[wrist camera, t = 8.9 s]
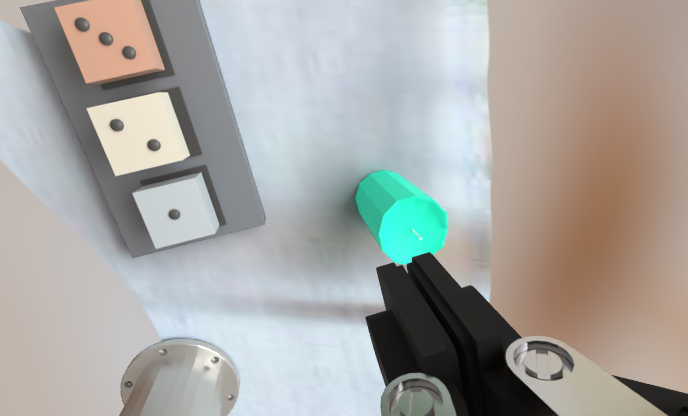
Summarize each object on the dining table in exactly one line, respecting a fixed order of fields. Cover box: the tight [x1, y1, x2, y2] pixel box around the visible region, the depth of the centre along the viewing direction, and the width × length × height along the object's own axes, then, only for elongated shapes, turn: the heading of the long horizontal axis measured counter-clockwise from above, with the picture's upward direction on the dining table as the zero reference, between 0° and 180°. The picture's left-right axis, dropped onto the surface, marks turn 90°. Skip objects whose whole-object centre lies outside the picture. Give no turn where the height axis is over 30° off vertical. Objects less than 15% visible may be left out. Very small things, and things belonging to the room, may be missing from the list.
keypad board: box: [20, 0, 266, 258], centre depth 33 cm, size 22×13×2 cm, turn 12°
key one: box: [132, 172, 219, 249], centre depth 33 cm, size 5×5×3 cm
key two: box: [86, 92, 190, 176], centre depth 29 cm, size 5×5×3 cm
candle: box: [355, 170, 448, 264], centre depth 34 cm, size 6×6×12 cm
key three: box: [54, 0, 165, 84], centre depth 28 cm, size 5×5×3 cm
